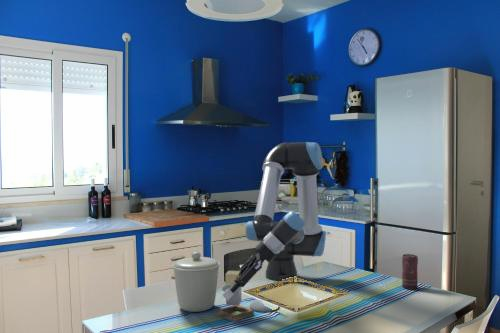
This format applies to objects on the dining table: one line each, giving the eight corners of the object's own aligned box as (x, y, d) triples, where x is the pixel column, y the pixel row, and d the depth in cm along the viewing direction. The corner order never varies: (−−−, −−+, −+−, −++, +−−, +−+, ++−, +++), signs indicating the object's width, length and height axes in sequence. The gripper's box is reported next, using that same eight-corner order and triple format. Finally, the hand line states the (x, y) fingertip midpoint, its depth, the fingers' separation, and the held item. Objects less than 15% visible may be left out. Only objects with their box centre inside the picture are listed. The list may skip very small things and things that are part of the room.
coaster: (243, 307, 165) (243, 305, 165) (263, 300, 173) (263, 299, 173) (264, 314, 157) (264, 312, 157) (285, 307, 165) (285, 305, 165)
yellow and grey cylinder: (226, 305, 155) (225, 274, 155) (229, 300, 160) (228, 270, 159) (239, 305, 154) (238, 274, 154) (241, 301, 159) (240, 270, 159)
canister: (213, 317, 155) (212, 258, 154) (164, 314, 158) (164, 256, 158) (226, 301, 172) (225, 247, 172) (182, 298, 176) (181, 246, 176)
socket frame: (216, 314, 157) (216, 310, 157) (236, 308, 164) (236, 304, 164) (234, 321, 151) (234, 317, 151) (253, 314, 157) (253, 310, 157)
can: (420, 290, 185) (420, 256, 185) (405, 290, 185) (404, 256, 185) (415, 285, 191) (414, 253, 191) (400, 285, 191) (400, 253, 191)
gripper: (281, 261, 149) (233, 311, 148) (273, 248, 167) (231, 293, 166) (265, 245, 148) (217, 296, 147) (259, 235, 166) (217, 280, 166)
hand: (224, 294), depth 157 cm, fingers closed on yellow and grey cylinder, 6 cm apart
